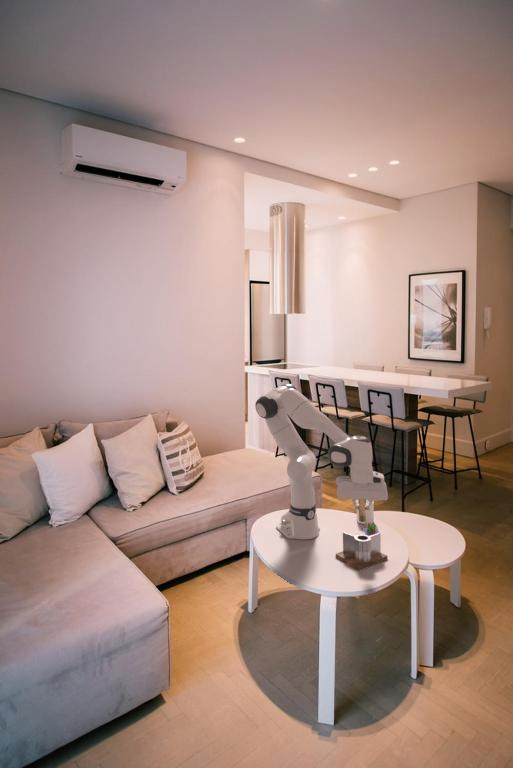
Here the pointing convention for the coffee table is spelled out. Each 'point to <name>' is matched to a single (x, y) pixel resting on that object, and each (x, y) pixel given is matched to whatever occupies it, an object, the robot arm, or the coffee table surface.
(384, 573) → the coffee table surface
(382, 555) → the base board
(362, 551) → the grey socket block
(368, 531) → the geometric puzzle
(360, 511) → the pin
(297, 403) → the robot arm
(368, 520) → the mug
